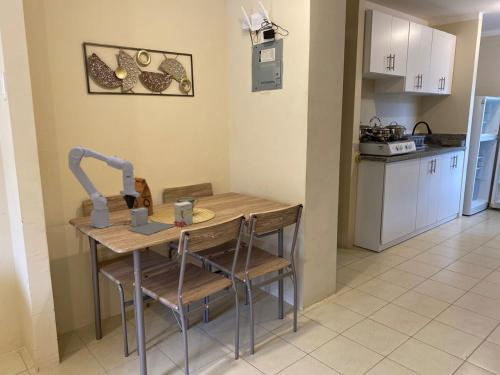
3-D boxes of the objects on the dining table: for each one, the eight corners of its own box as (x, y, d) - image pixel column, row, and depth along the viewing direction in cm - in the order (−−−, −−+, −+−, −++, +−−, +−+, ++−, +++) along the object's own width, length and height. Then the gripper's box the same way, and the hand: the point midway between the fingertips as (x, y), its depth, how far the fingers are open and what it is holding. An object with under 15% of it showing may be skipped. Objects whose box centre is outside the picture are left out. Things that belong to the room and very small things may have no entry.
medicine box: (143, 222, 204) (142, 207, 202) (148, 223, 201) (147, 208, 199) (131, 225, 198) (130, 210, 196) (136, 227, 195) (134, 211, 193)
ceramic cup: (181, 218, 210) (180, 201, 209) (175, 214, 219) (174, 198, 217) (202, 215, 217) (201, 198, 215) (195, 211, 225) (195, 195, 223)
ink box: (179, 227, 194) (178, 205, 191) (174, 225, 197) (173, 203, 195) (193, 223, 199) (192, 202, 197) (187, 222, 203) (186, 201, 201)
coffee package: (140, 217, 214) (137, 180, 210) (130, 213, 223) (128, 177, 219) (155, 214, 220) (153, 178, 216) (146, 210, 229) (143, 175, 225)
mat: (127, 230, 190) (127, 229, 190) (154, 222, 204) (154, 221, 204) (148, 235, 181) (148, 234, 181) (175, 226, 195) (175, 225, 195)
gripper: (143, 183, 198) (145, 208, 201) (126, 181, 206) (128, 205, 209) (132, 186, 192) (134, 211, 195) (115, 183, 201) (117, 207, 203)
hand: (130, 208), depth 202 cm, fingers closed
